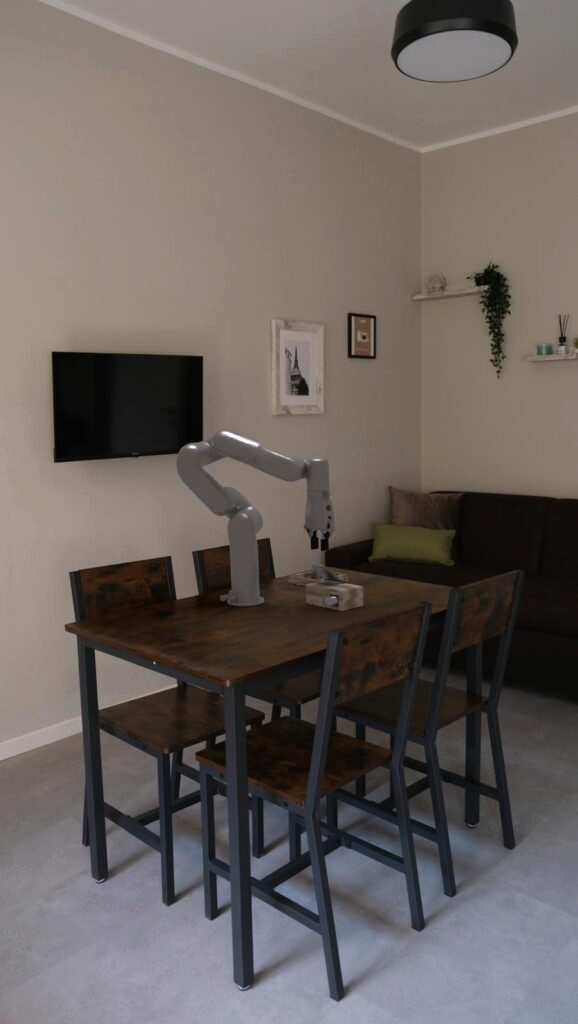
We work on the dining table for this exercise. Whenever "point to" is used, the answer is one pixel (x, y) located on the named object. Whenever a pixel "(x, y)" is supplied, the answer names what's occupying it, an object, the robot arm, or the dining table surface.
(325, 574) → the flap
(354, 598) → the block
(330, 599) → the pin
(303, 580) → the coaster frame
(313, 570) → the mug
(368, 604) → the dining table surface
